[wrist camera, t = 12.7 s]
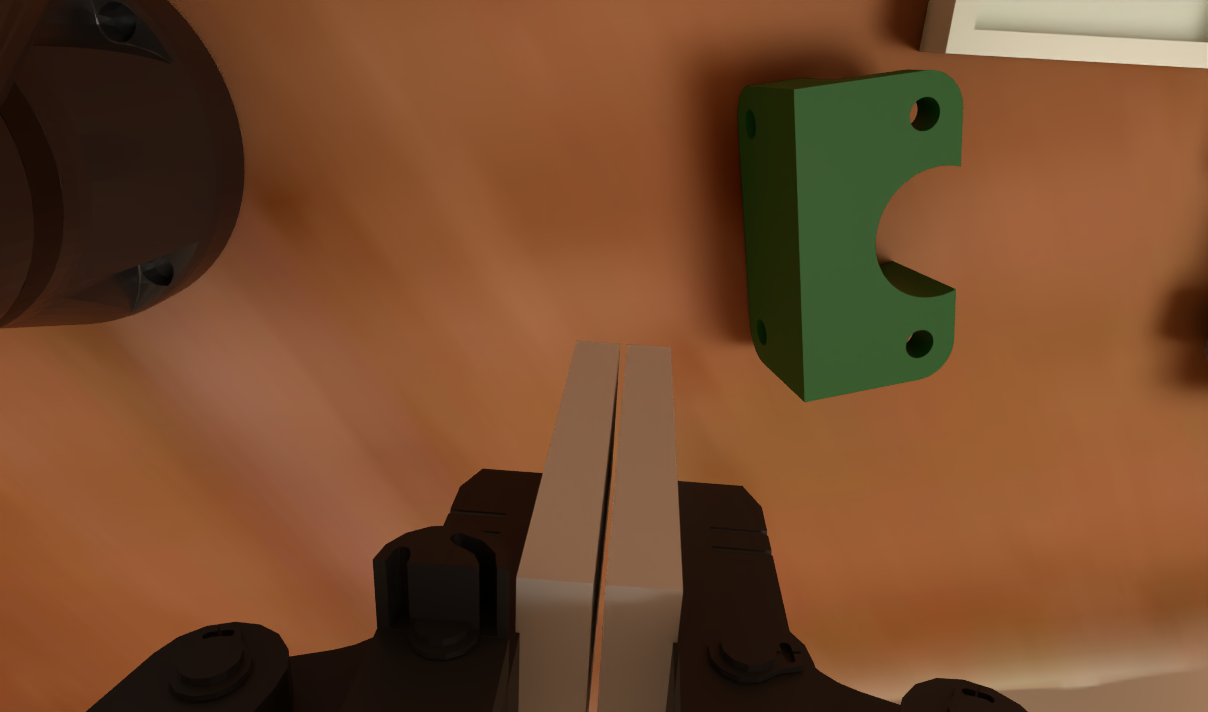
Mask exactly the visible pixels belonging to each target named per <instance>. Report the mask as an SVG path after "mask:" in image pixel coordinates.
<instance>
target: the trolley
mask: <svg viewBox="0 0 1208 712" xmlns="http://www.w3.org/2000/svg"><path fill="white" fill-rule="evenodd" d="M1203 355H1204V357H1205V358H1206V359H1208V339H1207V342H1206V345H1205V348H1204V350H1203Z"/></svg>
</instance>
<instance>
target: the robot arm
mask: <svg viewBox="0 0 1208 712" xmlns="http://www.w3.org/2000/svg"><path fill="white" fill-rule="evenodd" d="M243 186H244V154H243V145H242V138H241V132H240V128H239V123H238V119H237V115H236V112H235V109H234V105H233V102H232V100H231V97H230V94H229V91H228V89H227V87H226V85H225V82H224V80H223V78H222V76H221V74H220V72H219V70H218V68H217V66H216V64H215V62H214V60H213V59H212V57H211V55H210V54H209V52H208V50H207V49H206V47H205V46H204V44H203V43H202V41H201V40H200V38H199V37H198V35H197V34H196V33H195V32H194V30H193V29H192V28H191V26H190V25H189V24H188V23H187V21H186V20H185V19H184V18H183V17H182V16H181V14H180V13H179V12H178V11H177V10H176V9H175V8H174V7H173V6H172V5H171V4H170V3H169V2H168V1H167V0H0V328H19V327H39V326H59V325H79V324H94V323H102V322H108V321H113V320H117V319H120V318H124V317H127V316H131V315H134V314H137V313H139V312H142V311H144V310H146V309H148V308H150V307H152V306H154V305H156V304H158V303H160V302H162V301H164V300H166V299H167V298H169V297H171V296H173V295H175V294H177V293H178V292H180V291H182V290H183V289H185V288H187V287H188V286H189V285H191V284H192V283H193V282H195V281H196V280H197V279H198V278H199V277H201V276H202V275H203V274H204V273H205V272H206V271H207V270H208V269H209V268H210V267H211V266H212V264H213V263H214V262H215V260H216V259H217V258H218V257H219V255H220V253H221V252H222V250H223V249H224V247H225V245H226V244H227V242H228V240H229V238H230V236H231V233H232V231H233V229H234V226H235V223H236V220H237V217H238V214H239V210H240V206H241V201H242V194H243ZM619 355H620V344H618V343H604V342H590V341H577V342H576V346H575V350H574V353H573V357H572V361H571V365H570V369H569V373H568V377H567V381H566V385H565V389H564V393H563V397H562V400H561V404H560V408H559V412H558V416H557V420H556V424H555V428H554V432H553V436H552V440H551V444H550V447H549V451H548V455H547V459H546V463H545V467H544V471H543V473H533V472H519V471H506V470H493V469H482V470H481V471H479V472H478V473H477V474H476V475H474V476H473V477H472V478H470V479H469V480H468V481H467V482H465V483H464V484H463V485H462V486H460V488H459V491H458V493H457V495H456V498H455V500H454V502H453V505H452V507H451V511H450V513H449V514H448V516H447V518H446V521H445V523H444V525H443V526H431V527H427V528H423V529H419V530H415V531H412V532H408V533H405V534H404V535H402V536H400V537H398V538H396V539H395V540H393V541H391V542H389V543H387V544H386V545H385V546H384V547H383V548H382V549H381V551H380V552H379V553H378V554H377V555H376V556H375V558H374V559H373V571H374V586H375V601H376V616H377V630H376V632H375V635H374V637H373V638H370V639H368V640H365V641H363V642H361V643H358V644H356V645H352V646H348V647H344V648H339V649H335V650H329V651H323V652H317V653H310V654H304V655H297V656H291V657H289V651H288V648H287V646H286V645H285V643H284V641H283V640H282V638H281V637H280V635H279V634H278V633H276V632H274V631H272V630H270V629H268V628H266V627H264V626H262V625H259V624H250V623H241V622H231V623H224V624H218V625H211V626H206V627H203V628H201V629H198V630H195V631H193V632H190V633H187V634H185V635H182V636H179V637H178V638H176V639H175V640H173V641H172V642H170V643H169V644H167V645H166V646H164V647H162V648H161V649H159V650H158V651H156V652H155V653H154V654H152V655H151V656H150V657H149V658H148V659H147V660H145V661H144V662H143V663H142V664H141V665H140V666H138V667H137V668H136V669H135V670H134V671H133V672H131V673H130V674H129V675H128V676H127V677H126V678H124V679H123V680H122V681H121V682H120V683H119V684H118V685H116V686H115V687H114V688H113V689H112V690H111V691H109V692H108V693H107V694H106V695H105V696H104V697H102V698H101V699H100V700H99V701H98V702H97V703H95V704H94V705H93V706H92V707H91V708H90V709H88V710H87V711H86V712H589V703H590V693H591V683H592V672H593V662H594V652H595V642H596V632H597V621H598V611H599V601H600V591H601V581H602V571H603V560H604V550H605V540H606V530H607V520H608V509H609V499H610V489H611V478H612V463H613V448H614V432H615V417H616V401H617V386H618V371H619ZM597 712H1027V711H1026V710H1025V709H1024V708H1023V707H1022V706H1021V705H1019V704H1018V703H1016V702H1014V701H1013V700H1011V699H1009V698H1007V697H1006V696H1004V695H1002V694H1000V693H999V692H997V691H995V690H993V689H991V688H988V687H985V686H982V685H979V684H975V683H972V682H969V681H966V680H960V679H944V678H935V679H932V680H928V681H925V682H922V683H918V684H915V685H914V686H913V687H912V688H911V689H910V690H909V692H908V693H907V694H906V695H905V696H904V697H903V698H902V702H901V705H899V704H896V703H893V702H890V701H887V700H884V699H881V698H878V697H875V696H871V695H868V694H865V693H862V692H859V691H857V690H854V689H852V688H850V687H847V686H845V685H842V684H840V683H838V682H836V681H834V680H833V679H831V678H830V677H828V676H826V675H825V674H823V673H822V672H820V671H819V670H818V669H816V668H815V665H814V663H813V661H812V659H811V657H810V655H809V653H808V651H807V649H806V647H805V645H804V644H803V643H802V642H801V641H799V640H798V639H797V638H796V637H795V636H794V635H793V634H792V633H791V632H790V631H789V627H788V622H787V618H786V613H785V609H784V604H783V600H782V596H781V591H780V587H779V582H778V578H777V573H776V569H775V564H774V560H773V556H771V547H770V542H769V538H768V536H767V529H766V524H765V520H764V515H763V511H762V507H761V506H760V505H759V504H758V503H757V502H756V501H755V499H754V498H753V497H752V496H751V495H750V494H749V493H748V492H747V491H746V490H745V488H744V487H743V486H736V485H723V484H710V483H696V482H683V481H678V479H677V459H676V439H675V419H674V399H673V379H672V359H671V347H661V346H647V345H633V344H627V353H626V364H625V375H624V386H623V397H622V408H621V419H620V430H619V441H618V453H617V464H616V475H615V486H614V497H613V508H612V519H611V530H610V541H609V552H608V564H607V575H606V586H605V601H604V617H603V632H602V647H601V663H600V678H599V693H598V708H597Z"/></svg>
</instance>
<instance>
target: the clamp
mask: <svg viewBox="0 0 1208 712" xmlns="http://www.w3.org/2000/svg"><path fill="white" fill-rule="evenodd" d="M915 102H916V103H917V107H918V111H917V116H916V118H915V120H914V121H913V122H912V123H910V118H909V116H910V111H911V108H912V106H913V105H914V103H915ZM962 121H963V100H962V95H961V92H960V89H959V87H958V86H957V84H956V83H955V81H954V80H953V79H952V78H951V77H950V76H948V75H947V74H945V73H943V72H940V71H936V70H900V71H893V72H886V73H879V74H872V75H865V76H858V77H851V78H844V79H838V80H829V79H808V78H799V79H792V80H785V81H778V82H771V83H764V84H757V85H750V86H746V87H744V89H743V90H742V92H741V95H740V98H739V104H738V131H739V147H740V164H741V181H742V198H743V215H744V231H745V248H746V265H747V282H748V298H749V315H750V328H751V335H752V339H753V343H754V346H755V349H756V352H757V354H758V356H759V358H760V360H761V361H762V362H763V363H764V364H765V365H766V366H767V367H768V368H769V369H770V370H771V371H772V372H773V373H774V374H775V375H776V376H777V377H779V378H780V379H781V380H782V381H783V382H784V383H785V384H786V385H787V386H788V387H789V388H790V389H791V390H792V391H793V392H794V393H795V394H797V395H798V396H799V397H800V398H801V399H802V400H803V401H804V402H808V401H813V400H818V399H823V398H828V397H833V396H838V395H843V394H849V393H854V392H859V391H864V390H869V389H874V388H879V387H884V386H889V385H894V384H899V383H904V382H909V381H914V380H919V379H923V378H926V377H928V376H930V375H932V374H933V373H935V372H936V371H937V370H939V369H940V368H941V367H942V366H943V364H944V363H945V362H946V361H947V359H948V357H949V355H950V353H951V351H952V348H953V343H954V325H955V300H956V289H954V288H952V287H950V286H947V285H945V284H943V283H941V282H938V281H936V280H934V279H932V278H929V277H927V276H925V275H923V274H920V273H918V272H916V271H914V270H911V269H909V268H907V267H905V266H902V265H900V264H898V263H896V262H893V261H892V262H889V263H886V264H883V265H880V266H879V264H878V260H877V256H876V245H875V243H876V232H877V227H878V223H879V220H880V217H881V215H882V213H883V210H884V208H885V207H886V205H887V203H888V201H889V200H890V199H891V197H892V196H893V195H894V193H895V192H896V191H897V190H898V189H899V188H900V187H901V186H902V185H903V184H904V183H905V182H906V181H908V180H909V179H910V178H912V177H913V176H915V175H916V174H918V173H920V172H922V171H925V170H927V169H930V168H933V167H937V166H945V165H953V166H960V167H961V146H962ZM912 334H913V335H912ZM911 335H912V337H911V339H910V340H909V341H908V342H907V340H908V338H909V337H910V336H911Z"/></svg>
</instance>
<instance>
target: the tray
mask: <svg viewBox="0 0 1208 712" xmlns="http://www.w3.org/2000/svg"><path fill="white" fill-rule="evenodd" d="M919 51H921V52H935V53H951V54H968V55H985V56H1003V57H1020V58H1038V59H1055V60H1072V61H1090V62H1107V63H1125V64H1142V65H1160V66H1177V67H1194V68H1208V0H929V1H928V6H927V11H926V17H925V22H924V27H923V33H922V38H921V44H920V49H919Z"/></svg>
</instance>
